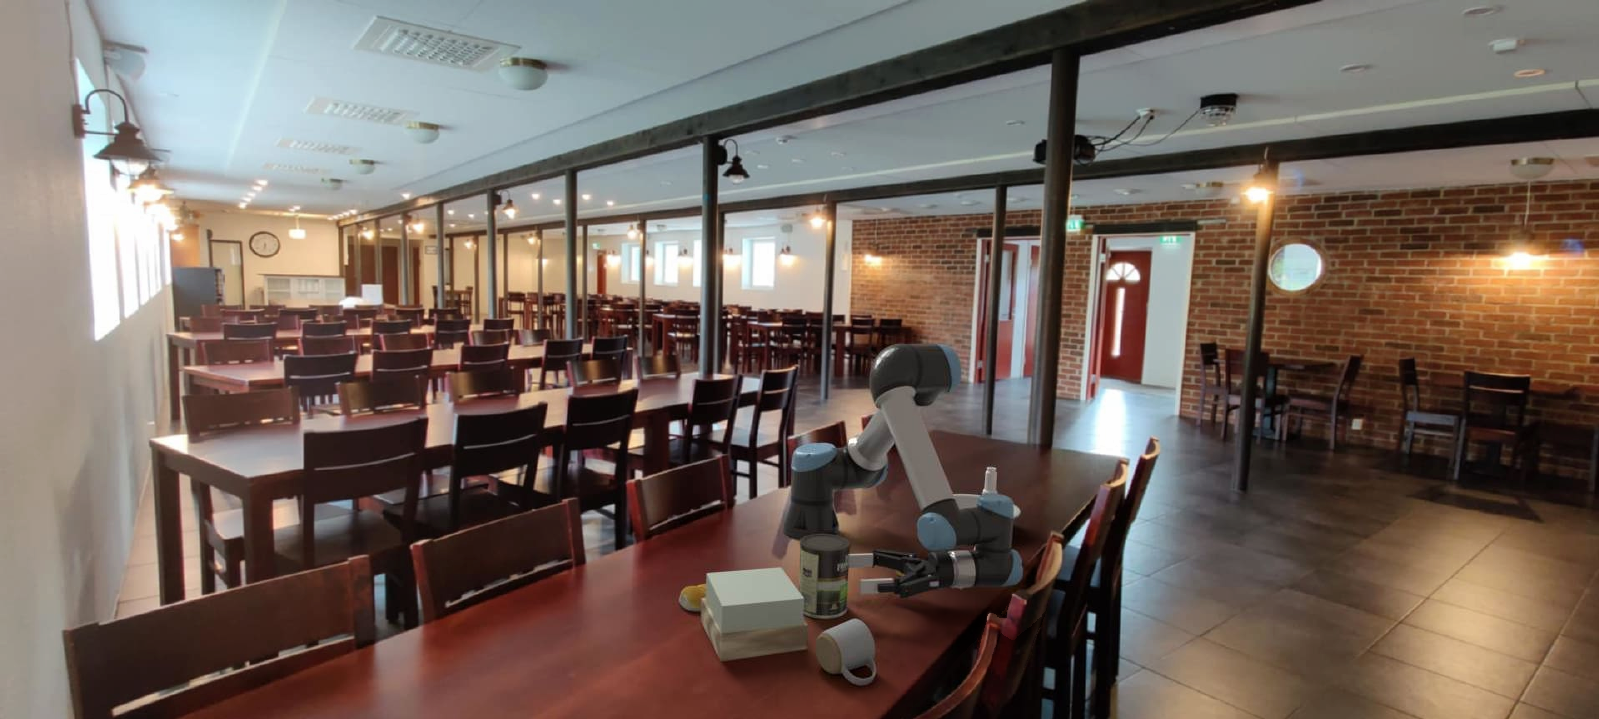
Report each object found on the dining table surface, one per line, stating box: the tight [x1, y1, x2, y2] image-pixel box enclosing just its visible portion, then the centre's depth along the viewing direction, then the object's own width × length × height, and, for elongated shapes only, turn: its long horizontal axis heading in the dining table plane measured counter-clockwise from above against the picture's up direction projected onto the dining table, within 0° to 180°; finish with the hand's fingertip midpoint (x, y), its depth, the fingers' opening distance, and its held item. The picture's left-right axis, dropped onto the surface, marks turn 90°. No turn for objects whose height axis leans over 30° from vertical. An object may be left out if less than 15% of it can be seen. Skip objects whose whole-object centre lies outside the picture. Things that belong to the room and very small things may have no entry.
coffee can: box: [798, 534, 851, 620], centre depth 148 cm, size 10×10×14 cm
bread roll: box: [678, 583, 706, 612], centre depth 149 cm, size 8×9×4 cm
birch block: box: [700, 598, 809, 662], centre depth 136 cm, size 16×16×5 cm
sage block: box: [705, 567, 804, 634], centre depth 135 cm, size 15×15×5 cm
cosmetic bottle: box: [973, 466, 998, 550], centre depth 184 cm, size 6×6×22 cm
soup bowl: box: [953, 493, 1021, 519], centre depth 203 cm, size 24×24×7 cm
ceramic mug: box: [814, 618, 877, 686], centre depth 124 cm, size 11×8×8 cm
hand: (851, 573), depth 148 cm, fingers open, 13 cm apart
